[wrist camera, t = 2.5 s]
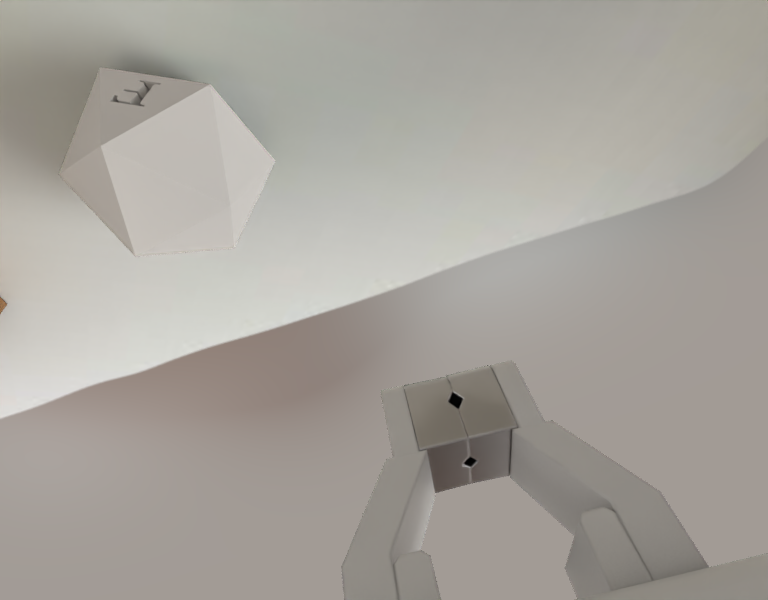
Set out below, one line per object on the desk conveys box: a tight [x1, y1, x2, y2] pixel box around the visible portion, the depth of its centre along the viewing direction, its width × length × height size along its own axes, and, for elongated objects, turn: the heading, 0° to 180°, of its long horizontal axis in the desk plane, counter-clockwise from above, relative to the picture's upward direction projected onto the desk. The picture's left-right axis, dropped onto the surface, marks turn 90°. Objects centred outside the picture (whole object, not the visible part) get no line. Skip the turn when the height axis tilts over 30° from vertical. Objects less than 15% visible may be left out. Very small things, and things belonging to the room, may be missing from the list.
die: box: [58, 67, 275, 257], centre depth 23 cm, size 8×9×10 cm
